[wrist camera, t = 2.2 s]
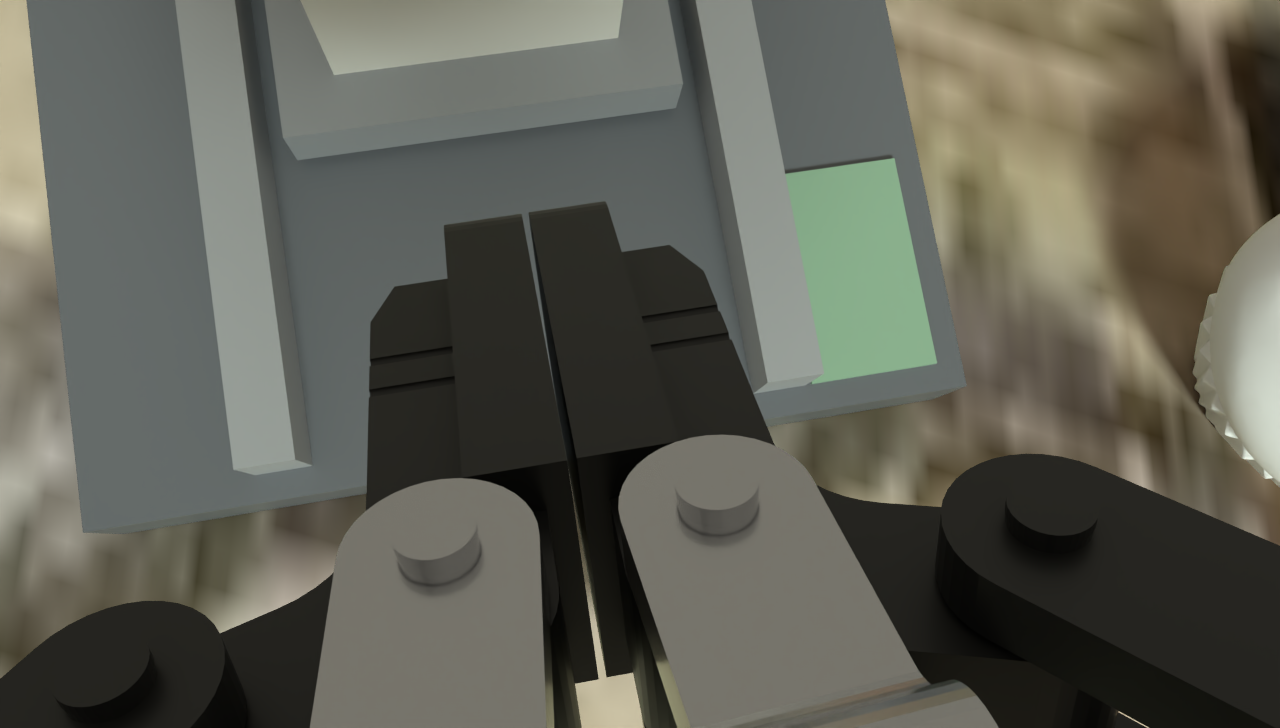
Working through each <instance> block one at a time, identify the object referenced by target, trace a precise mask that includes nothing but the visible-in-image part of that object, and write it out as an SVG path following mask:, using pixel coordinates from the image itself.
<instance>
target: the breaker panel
mask: <svg viewBox="0 0 1280 728" xmlns="http://www.w3.org/2000/svg"><path fill="white" fill-rule="evenodd" d="M668 5H669V10H670V15H671V21H672V26H673V32H674V37H675V42H676V48H677V53H678V59H679V64H680V69H681V75H682V80H683V86H682V89H681V92H680V96H679V99H678V103H677V106H676V108H673V109H666V110H659V111H651V112H644V113H637V114H630V115H622V116H615V117H608V118H601V119H593V120H586V121H579V122H572V123H564V124H557V125H550V126H543V127H535V128H528V129H521V130H514V131H506V132H499V133H492V134H485V135H477V136H470V137H463V138H456V139H448V140H441V141H434V142H427V143H419V144H412V145H405V146H398V147H390V148H383V149H376V150H369V151H361V152H354V153H347V154H340V155H332V156H325V157H318V158H311V159H303V160H297V159H296V157H295V156H294V154H293V153H292V151H291V150H290V148H289V146H288V145H287V143H286V142H285V140H284V139H283V134H282V127H281V119H280V112H279V105H278V97H277V90H276V82H275V75H274V68H273V60H272V53H271V45H270V38H269V31H268V23H267V16H266V9H265V1H264V0H27V9H28V18H29V28H30V37H31V47H32V56H33V66H34V75H35V84H36V94H37V103H38V113H39V122H40V132H41V141H42V150H43V160H44V169H45V179H46V188H47V198H48V207H49V216H50V226H51V235H52V245H53V254H54V264H55V273H56V282H57V292H58V301H59V311H60V320H61V330H62V339H63V348H64V358H65V367H66V377H67V386H68V396H69V405H70V414H71V424H72V433H73V443H74V452H75V462H76V471H77V480H78V490H79V499H80V509H81V518H82V528H83V533H109V534H126V533H132V532H138V531H144V530H150V529H156V528H162V527H168V526H174V525H180V524H186V523H192V522H198V521H204V520H210V519H216V518H222V517H228V516H234V515H240V514H246V513H253V512H259V511H265V510H271V509H277V508H283V507H289V506H295V505H301V504H307V503H313V502H319V501H325V500H331V499H337V498H343V497H349V496H355V495H361V494H366V493H367V450H368V407H369V397H370V392H369V366H371V363H370V322H371V321H372V319H373V318H374V316H375V315H376V313H377V312H378V310H379V309H380V307H381V306H382V304H383V303H384V301H385V300H386V298H387V297H388V295H389V294H390V292H391V291H392V289H393V288H394V287H395V286H401V285H408V284H415V283H421V282H428V281H434V280H441V279H447V266H446V252H445V239H444V225H446V224H453V223H460V222H467V221H474V220H481V219H487V218H494V217H501V216H508V215H515V214H522V218H523V223H524V229H525V234H526V240H527V245H528V250H529V256H530V261H531V267H532V272H533V278H534V283H535V289H536V294H537V299H538V305H539V310H540V316H541V321H542V327H543V332H544V338H545V343H546V348H547V354H548V359H549V353H548V346H547V339H546V333H545V326H544V319H543V312H542V305H541V298H540V291H539V285H538V278H537V271H536V264H535V257H534V250H533V243H532V237H531V229H530V222H529V212H533V211H540V210H547V209H554V208H561V207H568V206H574V205H581V204H588V203H595V202H602V201H606V203H607V206H608V209H609V212H610V215H611V219H612V222H613V225H614V228H615V232H616V235H617V238H618V241H619V245H620V248H621V251H622V252H625V251H632V250H638V249H645V248H652V247H658V246H665V245H671V246H672V247H673V248H675V249H676V250H677V251H678V252H680V253H681V254H682V255H684V256H685V257H686V258H688V259H689V260H690V261H692V262H693V263H694V264H696V265H697V266H698V267H700V268H701V269H702V270H703V271H704V273H705V275H706V278H707V280H708V282H709V285H710V287H711V290H712V292H713V295H714V297H715V300H716V302H717V306H718V311H720V312H721V315H722V317H723V320H724V322H725V324H726V327H727V329H728V332H729V338H730V340H731V339H732V342H733V344H734V347H735V349H736V352H737V354H738V357H739V359H740V362H741V364H742V366H743V369H744V371H745V374H746V376H747V379H748V381H749V384H750V386H751V389H752V391H753V394H754V396H755V399H756V401H757V404H758V406H759V408H760V411H761V413H762V416H763V418H764V421H765V423H766V426H767V427H769V426H775V425H781V424H787V423H793V422H799V421H805V420H811V419H817V418H823V417H829V416H835V415H841V414H847V413H853V412H859V411H865V410H871V409H877V408H883V407H889V406H895V405H901V404H907V403H913V402H919V401H925V400H931V399H934V398H937V397H940V396H942V395H945V394H947V393H950V392H953V391H955V390H958V389H960V388H963V387H965V386H967V385H966V381H965V376H964V371H963V366H962V362H961V357H960V352H959V348H958V343H957V338H956V333H955V329H954V324H953V319H952V315H951V310H950V305H949V300H948V296H947V291H946V286H945V281H944V277H943V272H942V267H941V263H940V258H939V253H938V248H937V244H936V239H935V234H934V229H933V225H932V220H931V215H930V211H929V206H928V201H927V196H926V192H925V187H924V182H923V178H922V173H921V168H920V163H919V159H918V154H917V149H916V144H915V140H914V135H913V130H912V126H911V121H910V116H909V111H908V107H907V102H906V97H905V93H904V88H903V83H902V78H901V74H900V69H899V64H898V59H897V55H896V50H895V45H894V41H893V36H892V31H891V26H890V22H889V17H888V12H887V8H886V3H885V0H668ZM549 365H550V360H549ZM550 370H551V366H550ZM551 376H552V372H551ZM552 381H553V379H552ZM553 387H554V385H553ZM554 392H555V391H554Z"/></svg>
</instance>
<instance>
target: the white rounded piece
mask: <svg viewBox="0 0 1280 728" xmlns="http://www.w3.org/2000/svg"><path fill="white" fill-rule="evenodd" d="M1194 360H1195V365H1194V369H1193V375H1194V376H1195V377H1196V379H1197V383H1196V385H1195V386H1194V388H1195V390H1196V391H1198V392H1199V394H1200V399H1199V404H1200V405H1202V406H1204V407H1205V408H1206V418H1207V419H1208V420H1209V421H1210V422H1211V423H1212V424H1213V425H1215V429H1216V430H1217V432H1218V433H1219V434H1220V435H1221V436H1222V437H1223V438H1224V439H1225V440H1226V441H1227V442H1228V444H1229V445H1230V446H1231V447H1232V448H1233V449H1234V450H1235V451H1236V452H1237V453H1238V454H1239V455H1240V457H1241V458H1243V459H1246V460H1247V461H1248V462H1249V463H1250V464H1251V465H1252V466H1253V467H1254V468H1255V469H1256V470H1257V471H1258V472H1259V473H1260V474H1261V475H1262V476H1263V477H1264V478H1265V479H1268V478H1270V479H1271V480H1272V481H1273V482H1275V483H1276V484H1277V485H1278V486H1279V487H1280V214H1279V215H1277V216H1276V217H1274V218H1273V219H1271V220H1270V221H1268V222H1267V223H1266V224H1264V225H1263V226H1262V227H1261V228H1259V229H1258V230H1257V231H1256V232H1255V233H1254V234H1253V235H1252V236H1251V237H1250V238H1249V239H1248V240H1247V241H1246V242H1245V243H1244V244H1243V245H1242V246H1241V248H1240V249H1239V250H1238V252H1237V253H1236V254H1235V256H1234V257H1233V259H1232V261H1231V262H1230V264H1229V266H1226V267H1225V268H1224V271H1223V274H1222V277H1221V280H1220V284H1219V287H1218V290H1217V293H1214V294H1211V295H1209V297H1208V300H1207V304H1206V309H1205V313H1204V318H1203V321H1202V322H1201V323H1200V328H1199V334H1198V338H1197V343H1196V349H1195V355H1194Z"/></svg>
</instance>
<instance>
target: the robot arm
mask: <svg viewBox="0 0 1280 728" xmlns="http://www.w3.org/2000/svg"><path fill="white" fill-rule="evenodd" d="M529 222H530V229H531V237H532V243H533V250H534V257H535V264H536V271H537V278H538V285H539V291H540V298H541V305H542V312H543V319H544V326H545V333H546V339H547V346H548V353H549V359H548V354H547V348H546V343H545V338H544V332H543V327H542V321H541V316H540V310H539V305H538V299H537V294H536V289H535V283H534V278H533V272H532V267H531V261H530V256H529V250H528V245H527V240H526V234H525V229H524V223H523V218H522V214H515V215H508V216H501V217H494V218H487V219H481V220H474V221H467V222H460V223H453V224H446V225H444V239H445V252H446V266H447V279H441V280H434V281H428V282H421V283H415V284H408V285H401V286H395V287H394V288H393V289H392V291H391V292H390V294H389V295H388V297H387V298H386V300H385V301H384V303H383V304H382V306H381V307H380V309H379V310H378V312H377V313H376V315H375V316H374V318H373V319H372V321H371V322H370V363H371V366H369V392H370V397H369V407H368V450H367V493H366V511H365V512H364V513H363V514H362V515H361V516H360V517H359V518H358V519H357V520H356V521H355V522H354V523H353V525H352V526H351V527H350V529H349V530H348V531H347V533H346V534H345V536H344V538H343V540H342V542H341V544H340V546H339V549H338V553H337V557H336V561H335V568H334V573H333V574H332V575H331V576H330V577H329V578H327V579H326V580H325V581H323V582H322V583H321V584H320V585H318V586H317V587H316V588H315V589H313V590H311V591H310V592H308V593H307V594H305V595H303V596H302V597H300V598H299V599H297V600H295V601H293V602H291V603H289V604H287V605H285V606H282V607H280V608H278V609H276V610H274V611H271V612H269V613H267V614H264V615H262V616H260V617H257V618H255V619H253V620H250V621H248V622H246V623H243V624H241V625H239V626H236V627H234V628H232V629H229V630H227V631H225V632H222V633H219V632H218V630H217V628H216V627H215V625H214V624H213V623H212V622H211V621H210V620H209V619H208V618H207V617H206V616H205V615H203V614H202V613H200V612H198V611H197V610H195V609H193V608H191V607H188V606H185V605H182V604H178V603H172V602H165V601H141V602H134V603H127V604H122V605H118V606H114V607H111V608H107V609H104V610H101V611H99V612H96V613H93V614H91V615H88V616H86V617H84V618H82V619H80V620H78V621H76V622H74V623H72V624H70V625H68V626H66V627H65V628H63V629H62V630H60V631H58V632H57V633H55V634H54V635H52V636H51V637H49V638H48V639H47V640H46V641H44V642H43V643H42V644H40V645H39V646H38V647H37V648H35V649H34V650H33V651H32V652H31V653H30V654H28V655H27V656H26V657H25V658H24V659H23V660H21V661H20V662H19V663H18V664H17V665H16V666H15V667H13V668H12V669H11V670H10V671H9V672H8V673H7V674H5V675H4V676H3V677H2V678H1V679H0V728H582V727H581V720H580V714H579V708H578V701H577V695H576V688H575V683H581V682H586V681H592V680H597V679H598V672H597V665H596V658H595V651H594V644H593V637H592V630H591V623H590V616H589V609H588V602H587V595H586V589H585V582H584V575H583V568H582V561H581V554H580V547H579V540H578V533H577V526H576V519H575V512H574V505H573V498H572V491H573V496H574V502H575V507H576V512H577V518H578V523H579V529H580V534H581V540H582V545H583V551H584V556H585V561H586V567H587V572H588V578H589V583H590V589H591V594H592V600H593V605H594V611H595V616H596V621H597V627H598V632H599V638H600V643H601V649H602V654H603V660H604V665H605V670H606V676H607V677H611V676H616V675H622V674H627V673H632V672H633V674H634V679H635V684H636V689H637V694H638V698H639V703H640V708H641V713H642V722H643V728H1146V727H1144V726H1142V725H1140V724H1139V723H1137V722H1135V721H1133V720H1131V719H1129V718H1128V717H1126V716H1124V715H1122V714H1120V713H1118V711H1120V712H1122V713H1124V714H1126V715H1127V716H1129V717H1131V718H1133V719H1135V720H1137V721H1138V722H1140V723H1142V724H1144V725H1146V726H1148V727H1149V728H1280V546H1279V545H1276V544H1274V543H1272V542H1269V541H1267V540H1265V539H1262V538H1260V537H1258V536H1255V535H1253V534H1251V533H1248V532H1246V531H1244V530H1241V529H1239V528H1237V527H1234V526H1232V525H1230V524H1227V523H1225V522H1223V521H1220V520H1218V519H1216V518H1213V517H1211V516H1209V515H1206V514H1204V513H1202V512H1199V511H1197V510H1195V509H1192V508H1190V507H1188V506H1185V505H1183V504H1181V503H1178V502H1176V501H1174V500H1171V499H1169V498H1167V497H1164V496H1162V495H1160V494H1157V493H1155V492H1153V491H1150V490H1148V489H1146V488H1143V487H1141V486H1139V485H1136V484H1134V483H1132V482H1129V481H1127V480H1125V479H1122V478H1120V477H1118V476H1115V475H1113V474H1111V473H1108V472H1106V471H1104V470H1101V469H1099V468H1097V467H1094V466H1091V465H1088V464H1086V463H1083V462H1080V461H1076V460H1072V459H1068V458H1064V457H1059V456H1052V455H1044V454H1019V455H1008V456H1004V457H999V458H994V459H991V460H988V461H985V462H983V463H980V464H978V465H976V466H974V467H972V468H970V469H969V470H967V471H965V472H964V473H963V474H962V475H960V476H959V477H958V478H957V479H956V480H955V481H954V482H953V483H952V485H951V486H950V487H949V489H948V490H947V492H946V495H945V497H944V499H943V502H942V507H931V506H917V505H903V504H889V503H878V502H870V501H862V500H858V499H853V498H849V497H845V496H842V495H839V494H836V493H833V492H830V491H828V490H826V489H823V488H821V487H819V486H817V485H816V484H815V482H814V480H813V478H812V477H811V475H810V474H809V473H808V471H807V470H806V468H805V467H804V466H803V465H802V464H801V463H800V462H799V461H798V460H797V459H796V458H794V457H793V456H791V455H790V454H788V453H787V452H785V451H784V450H782V449H780V448H778V447H776V446H775V445H774V443H773V441H772V438H771V436H770V433H769V431H768V428H767V426H766V423H765V421H764V418H763V416H762V413H761V411H760V408H759V406H758V404H757V401H756V399H755V396H754V394H753V391H752V389H751V386H750V384H749V381H748V379H747V376H746V374H745V371H744V369H743V366H742V364H741V362H740V359H739V357H738V354H737V352H736V349H735V347H734V344H733V342H732V339H731V340H730V338H729V332H728V329H727V327H726V324H725V322H724V320H723V317H722V315H721V312H720V311H718V306H717V302H716V300H715V297H714V295H713V292H712V290H711V287H710V285H709V282H708V280H707V278H706V275H705V273H704V271H703V270H702V269H701V268H700V267H698V266H697V265H696V264H694V263H693V262H692V261H690V260H689V259H688V258H686V257H685V256H684V255H682V254H681V253H680V252H678V251H677V250H676V249H675V248H673V247H672V246H671V245H665V246H658V247H652V248H645V249H638V250H632V251H625V252H622V251H621V248H620V245H619V241H618V238H617V235H616V232H615V228H614V225H613V222H612V219H611V215H610V212H609V209H608V206H607V203H606V201H602V202H595V203H588V204H581V205H574V206H568V207H561V208H554V209H547V210H540V211H533V212H529ZM549 360H550V365H549ZM550 366H551V370H550ZM551 372H552V376H551ZM552 379H553V381H552ZM553 385H554V387H553ZM554 391H555V392H554ZM567 463H568V464H567ZM568 469H569V471H568ZM569 474H570V477H569ZM570 480H571V484H570ZM571 485H572V491H571Z"/></svg>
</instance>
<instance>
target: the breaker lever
mask: <svg viewBox="0 0 1280 728" xmlns="http://www.w3.org/2000/svg"><path fill="white" fill-rule="evenodd" d="M264 1H265V9H266V16H267V23H268V31H269V38H270V45H271V53H272V60H273V68H274V75H275V82H276V90H277V97H278V105H279V112H280V119H281V127H282V134H283V139H284V140H285V142H286V143H287V145H288V146H289V148H290V150H291V151H292V153H293V154H294V156H295V157H296V159H297V160H303V159H311V158H318V157H325V156H332V155H340V154H347V153H354V152H361V151H369V150H376V149H383V148H390V147H398V146H405V145H412V144H419V143H427V142H434V141H441V140H448V139H456V138H463V137H470V136H477V135H485V134H492V133H499V132H506V131H514V130H521V129H528V128H535V127H543V126H550V125H557V124H564V123H572V122H579V121H586V120H593V119H601V118H608V117H615V116H622V115H630V114H637V113H644V112H651V111H659V110H666V109H673V108H676V106H677V103H678V99H679V96H680V92H681V89H682V86H683V80H682V75H681V69H680V64H679V59H678V53H677V48H676V42H675V37H674V32H673V26H672V21H671V15H670V10H669V5H668V0H264Z"/></svg>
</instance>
